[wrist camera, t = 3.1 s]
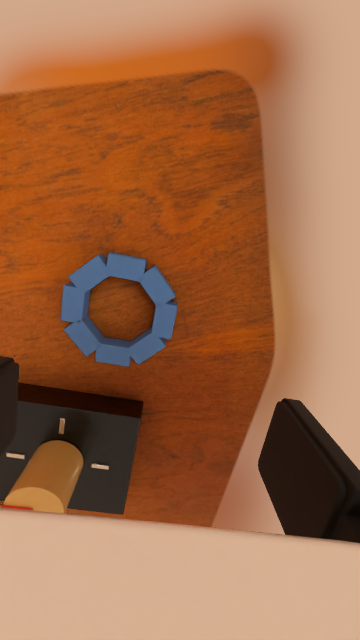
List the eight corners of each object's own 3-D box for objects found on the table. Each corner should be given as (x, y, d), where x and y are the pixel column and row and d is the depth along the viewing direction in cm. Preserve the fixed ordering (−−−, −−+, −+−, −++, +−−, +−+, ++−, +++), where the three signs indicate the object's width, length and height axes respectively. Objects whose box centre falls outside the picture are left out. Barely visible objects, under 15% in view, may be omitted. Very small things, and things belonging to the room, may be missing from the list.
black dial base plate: (143, 401, 25) (140, 419, 22) (127, 490, 27) (123, 516, 25) (2, 380, 24) (-18, 396, 21) (-1, 475, 26) (-19, 500, 24)
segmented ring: (184, 266, 22) (185, 268, 20) (164, 364, 24) (164, 373, 22) (73, 244, 21) (66, 244, 19) (64, 348, 23) (56, 355, 22)
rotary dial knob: (85, 443, 23) (64, 495, 18) (80, 483, 24) (59, 541, 19) (35, 436, 22) (0, 487, 18) (32, 477, 23) (-2, 535, 19)
